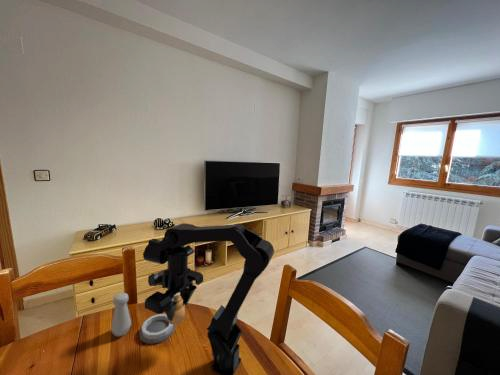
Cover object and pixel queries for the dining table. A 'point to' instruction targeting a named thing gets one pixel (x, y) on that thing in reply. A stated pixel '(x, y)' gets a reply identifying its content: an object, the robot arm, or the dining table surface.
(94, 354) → the dining table surface
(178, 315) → the beige tiered cylinder
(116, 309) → the salt shaker
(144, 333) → the grey shallow dish
